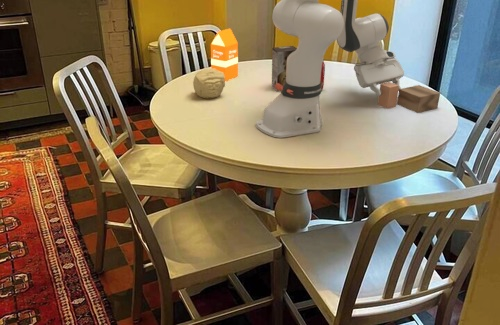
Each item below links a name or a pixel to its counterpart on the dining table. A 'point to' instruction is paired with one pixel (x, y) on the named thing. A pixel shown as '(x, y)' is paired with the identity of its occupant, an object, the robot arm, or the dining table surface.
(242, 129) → the dining table surface
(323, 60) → the soda can
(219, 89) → the sculpture
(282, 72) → the coffee box
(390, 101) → the salmon pink block
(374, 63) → the robot arm
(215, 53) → the orange juice
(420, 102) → the walnut box
